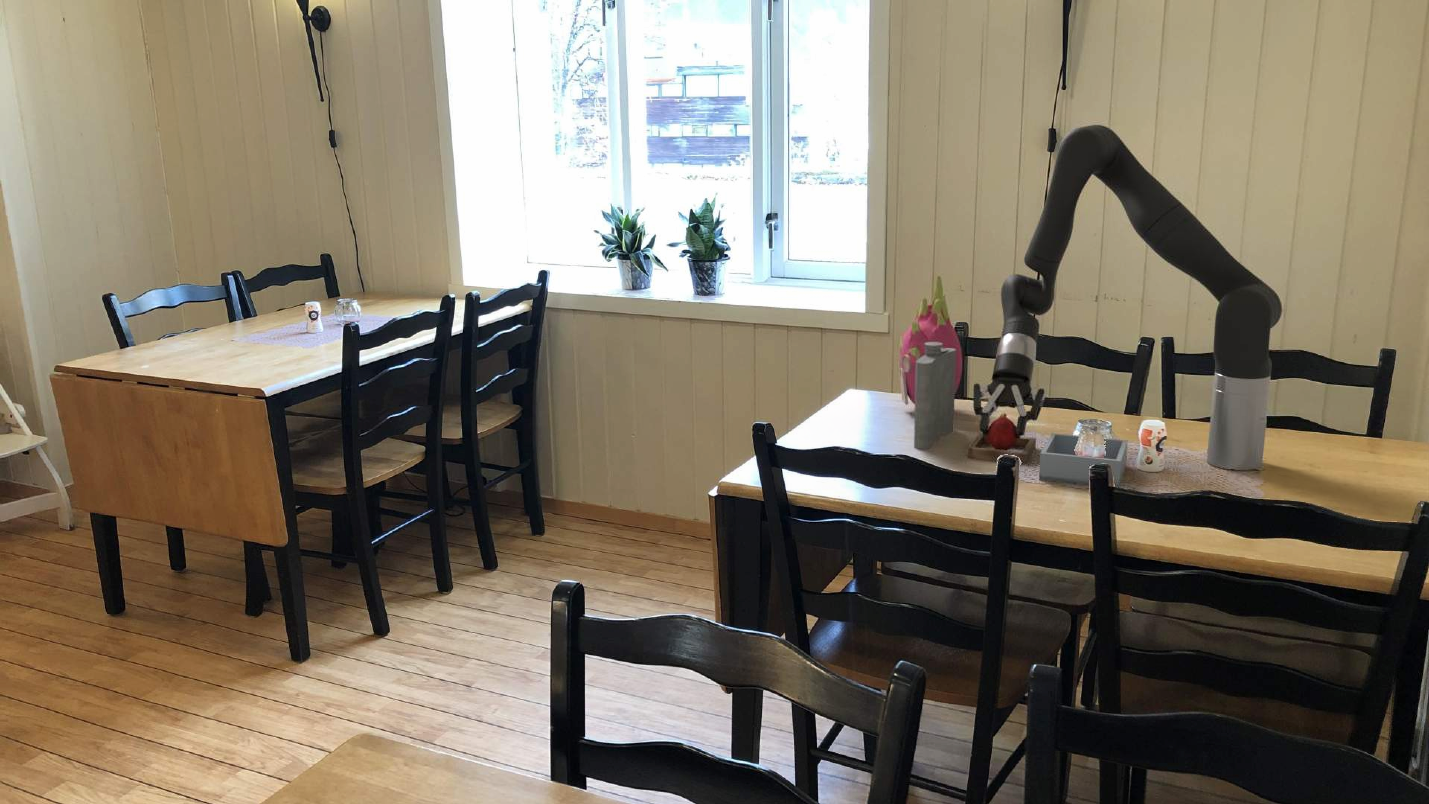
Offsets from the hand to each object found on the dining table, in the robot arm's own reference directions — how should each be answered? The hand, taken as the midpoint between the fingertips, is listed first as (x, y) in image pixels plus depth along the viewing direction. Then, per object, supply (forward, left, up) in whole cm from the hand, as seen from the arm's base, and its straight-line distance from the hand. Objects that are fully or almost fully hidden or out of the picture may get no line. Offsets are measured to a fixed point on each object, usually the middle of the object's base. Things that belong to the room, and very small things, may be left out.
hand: (1001, 434), depth 212 cm
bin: (-16, +5, -4) cm, 17 cm away
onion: (0, -2, -4) cm, 5 cm away
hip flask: (+15, -7, -5) cm, 17 cm away
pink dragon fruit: (+21, -28, -4) cm, 35 cm away
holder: (0, -2, -4) cm, 5 cm away
